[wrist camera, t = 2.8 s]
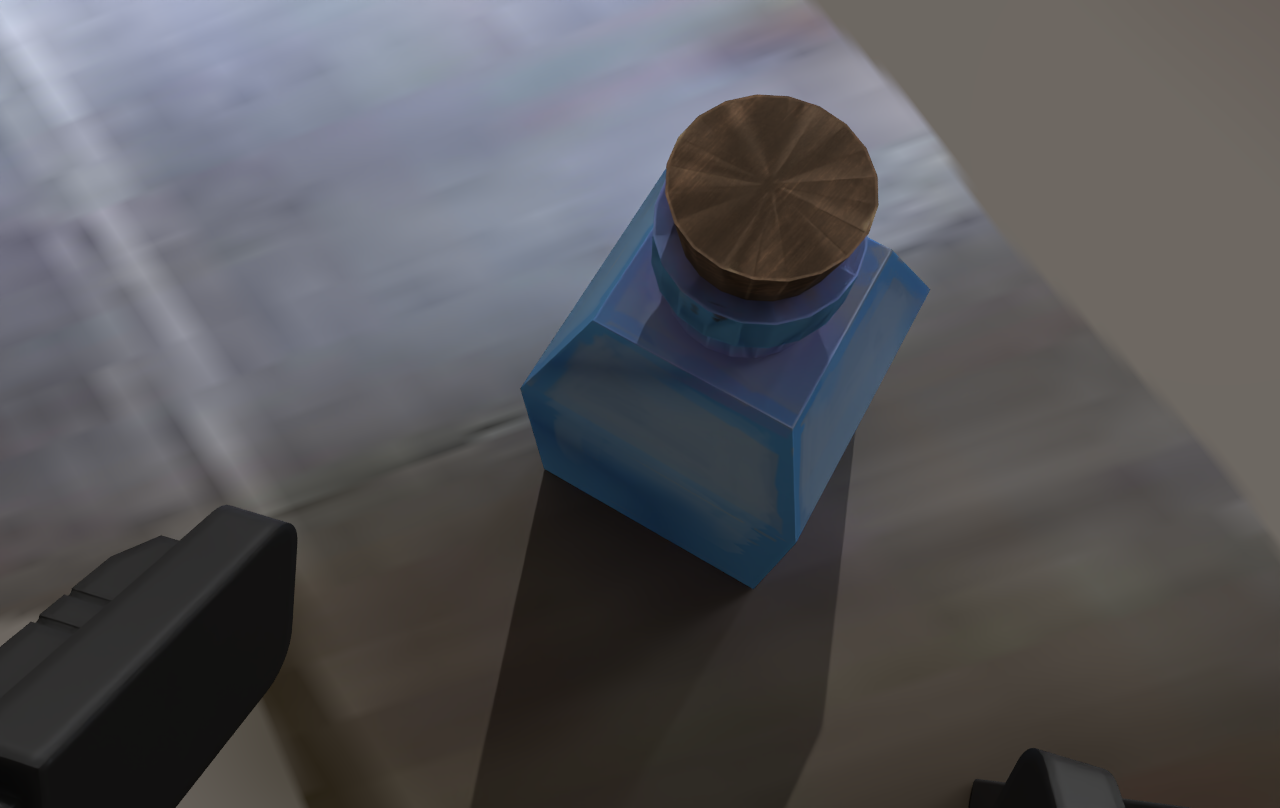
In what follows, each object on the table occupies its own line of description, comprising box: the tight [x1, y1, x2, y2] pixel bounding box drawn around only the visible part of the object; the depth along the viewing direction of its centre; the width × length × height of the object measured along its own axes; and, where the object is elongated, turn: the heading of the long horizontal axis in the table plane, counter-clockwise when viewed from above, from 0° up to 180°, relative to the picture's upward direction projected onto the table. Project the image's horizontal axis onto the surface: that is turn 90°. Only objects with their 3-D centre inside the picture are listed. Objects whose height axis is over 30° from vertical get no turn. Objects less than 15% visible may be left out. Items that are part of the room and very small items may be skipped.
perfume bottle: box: [520, 95, 930, 589], centre depth 20 cm, size 6×6×12 cm
